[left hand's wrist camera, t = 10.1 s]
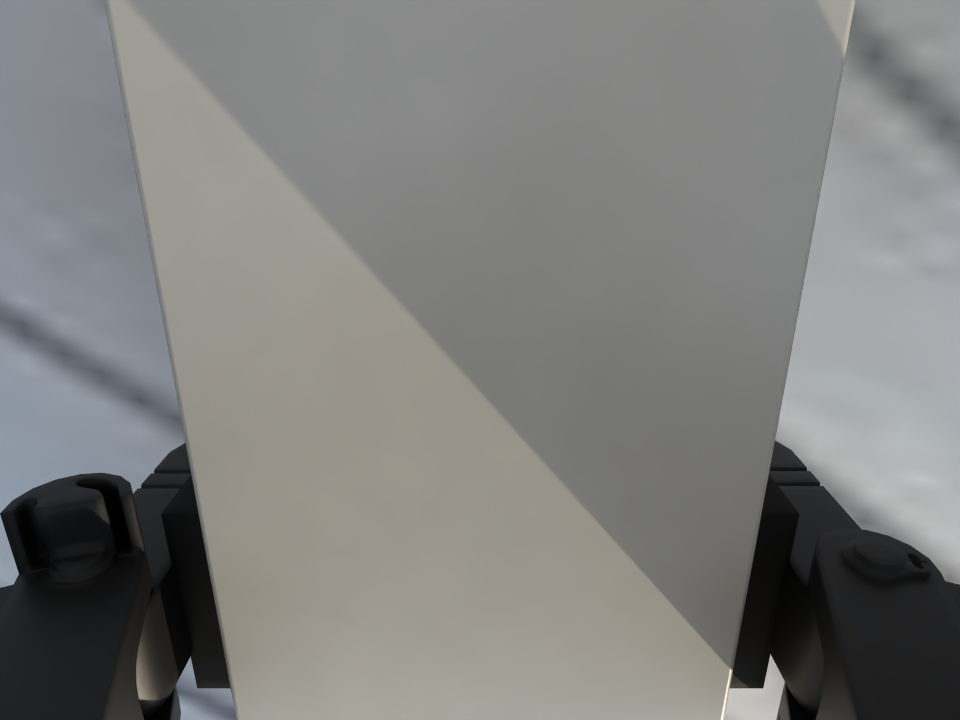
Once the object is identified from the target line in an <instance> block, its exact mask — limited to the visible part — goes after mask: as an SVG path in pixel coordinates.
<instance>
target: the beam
mask: <svg viewBox="0 0 960 720" xmlns="http://www.w3.org/2000/svg"><path fill="white" fill-rule="evenodd" d="M104 2H105V7H106V12H107V18H108V23H109V29H110V34H111V40H112V45H113V51H114V56H115V61H116V67H117V72H118V78H119V83H120V89H121V94H122V99H123V105H124V110H125V116H126V121H127V127H128V132H129V138H130V143H131V148H132V154H133V159H134V165H135V170H136V176H137V181H138V186H139V192H140V197H141V203H142V208H143V214H144V219H145V225H146V230H147V235H148V241H149V246H150V252H151V257H152V263H153V268H154V273H155V279H156V284H157V290H158V295H159V301H160V306H161V311H162V317H163V322H164V328H165V333H166V339H167V344H168V350H169V355H170V360H171V366H172V371H173V377H174V382H175V388H176V393H177V398H178V404H179V409H180V415H181V420H182V426H183V431H184V437H185V442H186V447H187V453H188V458H189V464H190V469H191V475H192V480H193V485H194V491H195V496H196V502H197V507H198V513H199V518H200V524H201V529H202V534H203V540H204V545H205V551H206V556H207V562H208V567H209V572H210V578H211V583H212V589H213V594H214V600H215V605H216V611H217V616H218V621H219V627H220V632H221V638H222V643H223V649H224V654H225V659H226V665H227V670H228V676H229V681H230V687H231V692H232V697H233V703H234V708H235V714H236V719H237V720H724V716H725V710H726V705H727V699H728V694H729V689H730V683H731V678H732V672H733V667H734V661H735V656H736V650H737V645H738V639H739V634H740V628H741V623H742V617H743V612H744V606H745V601H746V596H747V590H748V585H749V579H750V574H751V568H752V563H753V557H754V552H755V546H756V541H757V535H758V530H759V524H760V519H761V513H762V508H763V502H764V497H765V492H766V486H767V481H768V475H769V470H770V464H771V459H772V453H773V448H774V442H775V437H776V431H777V426H778V420H779V415H780V409H781V404H782V399H783V393H784V388H785V382H786V377H787V371H788V366H789V360H790V355H791V349H792V344H793V338H794V333H795V327H796V322H797V316H798V311H799V305H800V300H801V295H802V289H803V284H804V278H805V273H806V267H807V262H808V256H809V251H810V245H811V240H812V234H813V229H814V223H815V218H816V212H817V207H818V202H819V196H820V191H821V185H822V180H823V174H824V169H825V163H826V158H827V152H828V147H829V141H830V136H831V130H832V125H833V119H834V114H835V108H836V103H837V98H838V92H839V87H840V81H841V76H842V70H843V65H844V59H845V54H846V48H847V43H848V37H849V32H850V26H851V21H852V15H853V10H854V5H855V0H104Z"/></svg>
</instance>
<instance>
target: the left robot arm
mask: <svg viewBox="0 0 960 720" xmlns="http://www.w3.org/2000/svg"><path fill="white" fill-rule="evenodd" d="M0 515H1V518H2V521H3V524H4V528H5V531H6V534H7V537H8V540H9V543H10V547H11V550H12V553H13V556H14V559H15V562H16V566H17V569H18V572H19V575H18V577H17V579H16V581H15V583H14V585H10V586H7V587H2V588H0V720H180V716H181V710H180V703H179V697H178V693H177V688H176V683H177V681H178V679H179V677H180V675H181V673H182V672H183V670H184V668H185V666H186V664H187V662H188V660H189V658H190V656H191V660H192V665H193V669H194V674H195V679H196V684H197V688H231V687H230V681H229V676H228V670H227V665H226V659H225V654H224V649H223V643H222V638H221V632H220V627H219V621H218V616H217V611H216V605H215V600H214V594H213V589H212V583H211V578H210V572H209V567H208V562H207V556H206V551H205V545H204V540H203V534H202V529H201V524H200V518H199V513H198V507H197V502H196V496H195V491H194V485H193V480H192V475H191V469H190V464H189V458H188V453H187V447H186V443H185V444H183V445H181V446H180V447H178V448H176V449H175V450H173V451H171V452H170V453H169V454H168V455H167V456H166V457H165V458H164V460H163V461H162V462H161V463H160V464H159V465H158V466H157V468H156V469H155V470H154V474H150V476H149V477H148V478H147V479H146V480H145V481H144V482H143V483H142V485H141V489H137V490H136V491H135V493H134V494H133V493H132V488H131V484H130V483H129V482H128V481H127V480H125V479H124V478H122V477H121V476H117V475H112V474H106V473H93V474H79V475H75V476H70V477H66V478H61V479H57V480H54V481H51V482H49V483H46V484H44V485H41V486H38V487H36V488H33V489H31V490H30V491H28V492H26V493H25V494H23V495H21V496H19V497H18V498H16V499H14V500H13V501H12V502H11V503H10V504H9V505H8V506H7V507H6V508H5V509H4V510H3V511H2V512H1V513H0ZM770 654H771V656H772V657H773V659H774V661H775V663H776V665H777V667H778V669H779V671H780V673H781V675H782V677H783V678H784V680H785V684H784V688H783V693H782V697H781V701H780V706H779V710H778V715H777V719H776V720H960V585H958V584H954V583H950V582H946V581H945V580H944V578H943V576H942V574H941V572H940V571H939V570H938V569H937V568H936V566H935V565H934V564H933V563H932V561H931V560H930V559H929V558H927V557H926V556H925V555H923V554H922V553H920V552H919V551H917V550H916V549H915V548H913V547H912V546H910V545H908V544H906V543H903V542H901V541H899V540H897V539H894V538H892V537H890V536H887V535H883V534H879V533H875V532H872V531H868V530H862V529H861V528H860V527H859V526H858V525H857V524H856V523H855V522H854V520H853V519H852V518H851V517H850V516H849V515H848V514H847V513H846V511H845V510H844V509H843V508H842V507H841V506H840V505H839V504H838V502H837V501H836V500H835V499H834V498H833V497H832V496H831V494H830V493H829V492H828V491H827V490H826V489H825V488H824V487H823V486H820V482H819V481H818V480H817V479H816V478H815V476H814V475H813V474H812V473H811V472H810V471H807V467H806V466H805V465H804V464H803V463H802V462H801V461H800V459H799V458H798V457H797V456H796V455H795V454H794V453H793V452H792V450H790V449H789V448H787V447H785V446H783V445H782V444H780V443H778V442H777V441H775V442H774V448H773V453H772V459H771V464H770V470H769V475H768V481H767V486H766V492H765V497H764V502H763V508H762V513H761V519H760V524H759V530H758V535H757V541H756V546H755V552H754V557H753V563H752V568H751V574H750V579H749V585H748V590H747V596H746V601H745V606H744V612H743V617H742V623H741V628H740V634H739V639H738V645H737V650H736V656H735V661H734V667H733V672H732V678H731V683H730V688H763V686H764V681H765V677H766V672H767V667H768V662H769V658H770Z"/></svg>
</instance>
